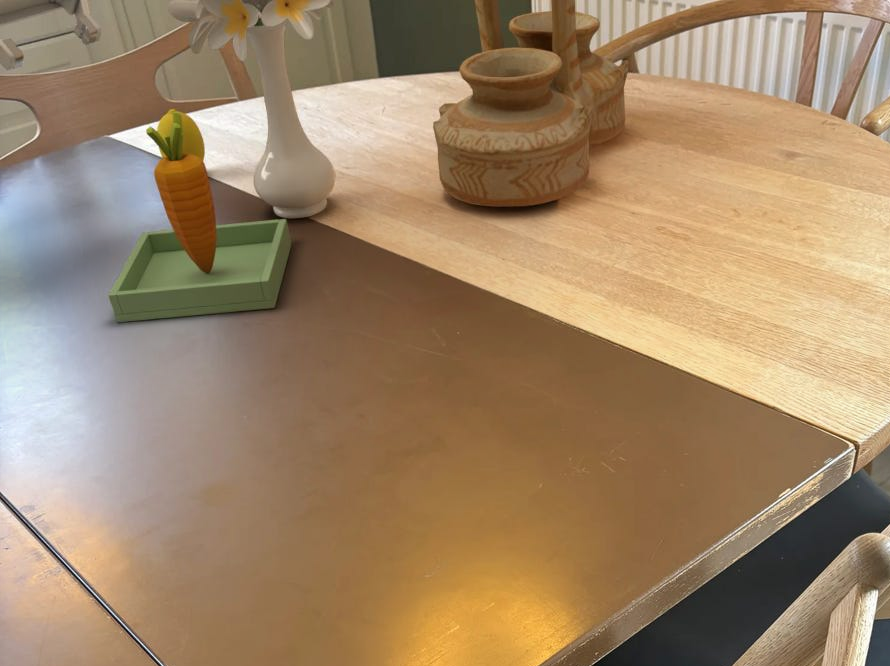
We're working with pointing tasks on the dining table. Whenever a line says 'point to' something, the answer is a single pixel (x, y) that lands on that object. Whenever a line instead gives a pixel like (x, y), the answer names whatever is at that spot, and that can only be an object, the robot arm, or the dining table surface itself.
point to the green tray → (203, 273)
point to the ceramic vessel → (529, 109)
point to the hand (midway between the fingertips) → (56, 51)
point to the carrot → (186, 196)
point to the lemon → (190, 130)
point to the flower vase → (269, 93)
